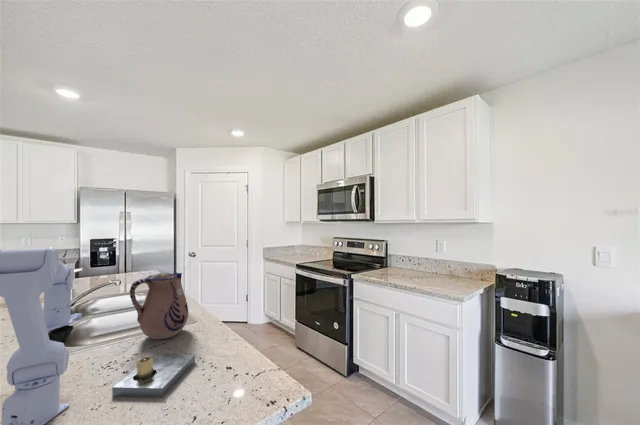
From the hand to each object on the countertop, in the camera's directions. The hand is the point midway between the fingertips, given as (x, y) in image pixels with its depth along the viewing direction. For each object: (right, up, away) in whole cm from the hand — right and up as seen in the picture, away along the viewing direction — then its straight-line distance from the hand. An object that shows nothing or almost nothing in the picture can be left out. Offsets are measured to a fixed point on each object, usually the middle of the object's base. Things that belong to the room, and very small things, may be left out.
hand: (57, 353), depth 80 cm
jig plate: (+27, -9, +4) cm, 29 cm away
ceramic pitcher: (+11, -10, +32) cm, 36 cm away
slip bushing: (+25, -9, +1) cm, 27 cm away
